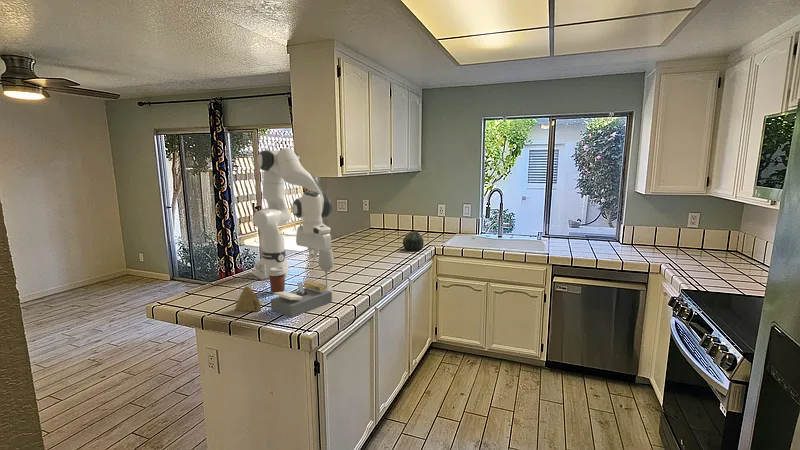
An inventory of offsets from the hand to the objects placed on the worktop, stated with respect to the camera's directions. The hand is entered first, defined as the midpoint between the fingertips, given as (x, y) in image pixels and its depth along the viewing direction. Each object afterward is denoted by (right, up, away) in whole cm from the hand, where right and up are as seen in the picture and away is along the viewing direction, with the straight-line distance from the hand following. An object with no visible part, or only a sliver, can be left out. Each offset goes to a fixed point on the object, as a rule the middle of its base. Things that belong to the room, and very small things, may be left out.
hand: (313, 257), depth 180 cm
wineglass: (+2, -18, +20) cm, 27 cm away
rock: (-27, -23, -8) cm, 36 cm away
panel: (-4, -22, -3) cm, 22 cm away
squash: (+50, -4, +110) cm, 121 cm away
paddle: (-4, -16, -4) cm, 17 cm away
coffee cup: (-21, -19, +16) cm, 33 cm away
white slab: (-9, -16, -10) cm, 21 cm away
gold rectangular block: (0, -14, +2) cm, 15 cm away
